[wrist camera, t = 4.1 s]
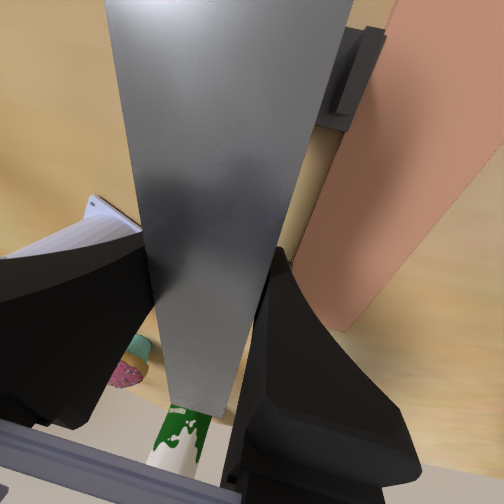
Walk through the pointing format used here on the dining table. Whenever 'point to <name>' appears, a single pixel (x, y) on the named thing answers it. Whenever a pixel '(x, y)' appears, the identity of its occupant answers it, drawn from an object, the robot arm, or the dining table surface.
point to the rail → (216, 160)
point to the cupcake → (132, 364)
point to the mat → (405, 151)
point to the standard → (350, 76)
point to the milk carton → (180, 441)
